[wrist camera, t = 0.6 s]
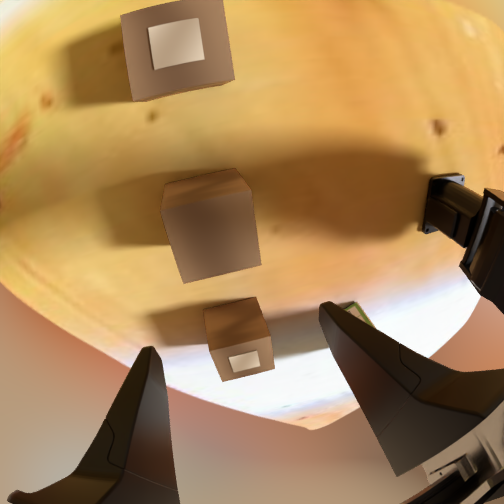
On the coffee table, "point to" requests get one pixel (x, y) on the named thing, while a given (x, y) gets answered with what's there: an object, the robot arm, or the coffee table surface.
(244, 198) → the plain block
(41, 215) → the coffee table surface
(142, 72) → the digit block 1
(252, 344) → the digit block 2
